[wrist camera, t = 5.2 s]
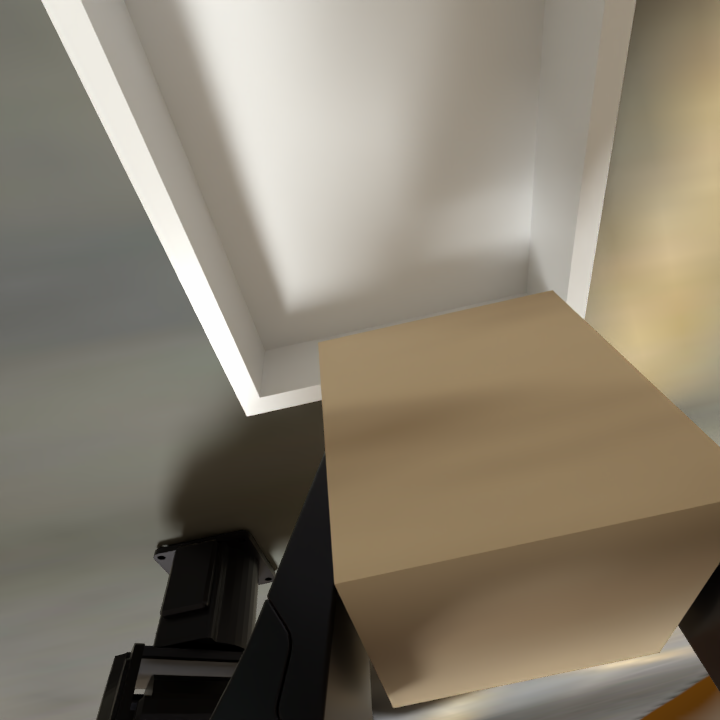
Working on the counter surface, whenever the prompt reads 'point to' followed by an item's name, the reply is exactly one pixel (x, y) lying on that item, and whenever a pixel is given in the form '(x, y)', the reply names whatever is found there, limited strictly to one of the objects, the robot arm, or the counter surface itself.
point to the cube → (509, 498)
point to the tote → (355, 158)
